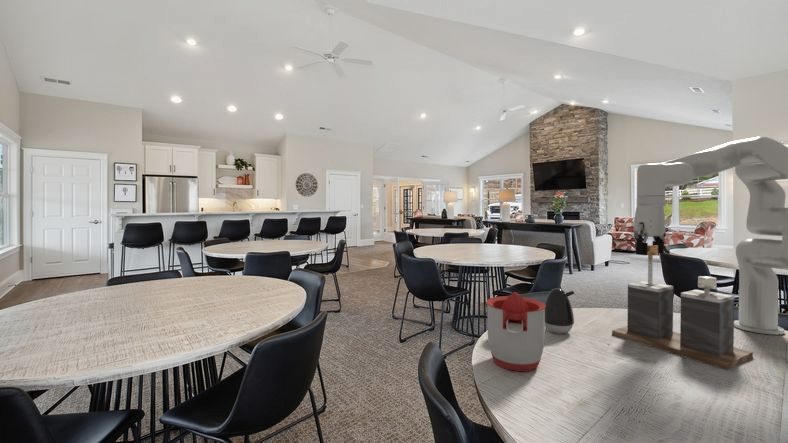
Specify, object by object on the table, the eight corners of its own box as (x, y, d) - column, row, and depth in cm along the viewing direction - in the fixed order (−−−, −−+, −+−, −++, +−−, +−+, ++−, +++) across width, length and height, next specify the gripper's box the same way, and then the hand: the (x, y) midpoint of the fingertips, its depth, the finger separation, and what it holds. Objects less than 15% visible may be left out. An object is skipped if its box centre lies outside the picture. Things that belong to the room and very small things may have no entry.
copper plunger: (644, 303, 120) (644, 244, 120) (667, 307, 114) (668, 245, 114) (632, 305, 117) (633, 245, 117) (656, 310, 111) (656, 247, 110)
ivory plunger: (697, 340, 107) (698, 274, 107) (727, 348, 101) (728, 278, 101) (685, 344, 104) (686, 276, 104) (715, 353, 98) (716, 280, 97)
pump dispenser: (578, 337, 117) (578, 292, 116) (545, 335, 119) (545, 291, 119) (569, 327, 127) (570, 285, 126) (539, 325, 129) (539, 284, 128)
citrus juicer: (483, 373, 92) (482, 298, 91) (489, 349, 108) (488, 284, 107) (548, 383, 86) (548, 302, 86) (544, 355, 103) (544, 287, 102)
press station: (639, 326, 126) (639, 278, 126) (752, 357, 100) (753, 296, 99) (612, 334, 119) (612, 283, 119) (727, 369, 92) (728, 303, 92)
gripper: (652, 202, 122) (651, 251, 122) (623, 202, 114) (622, 254, 115) (677, 201, 115) (677, 253, 116) (648, 201, 107) (647, 257, 108)
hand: (649, 254), depth 115 cm, fingers open, 9 cm apart
